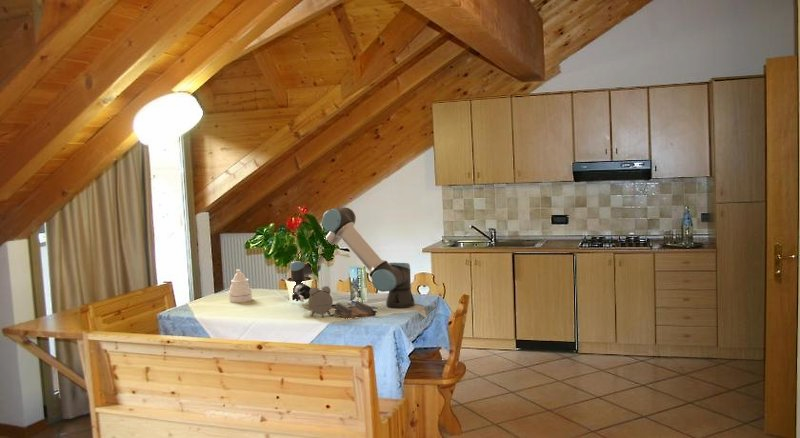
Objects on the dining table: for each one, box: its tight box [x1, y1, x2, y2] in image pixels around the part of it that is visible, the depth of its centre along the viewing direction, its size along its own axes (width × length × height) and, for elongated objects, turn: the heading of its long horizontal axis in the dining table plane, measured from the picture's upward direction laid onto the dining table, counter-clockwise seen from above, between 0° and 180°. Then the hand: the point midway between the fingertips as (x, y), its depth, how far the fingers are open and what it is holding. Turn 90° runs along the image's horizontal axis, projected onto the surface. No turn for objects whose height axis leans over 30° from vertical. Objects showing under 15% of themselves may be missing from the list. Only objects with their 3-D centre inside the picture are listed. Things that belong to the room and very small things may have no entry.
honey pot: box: [228, 269, 253, 303], centre depth 398 cm, size 13×13×18 cm
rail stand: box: [334, 300, 374, 320], centre depth 350 cm, size 14×18×4 cm
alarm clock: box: [308, 285, 334, 318], centre depth 346 cm, size 12×7×15 cm, turn 108°
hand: (315, 297), depth 352 cm, fingers open, 13 cm apart
